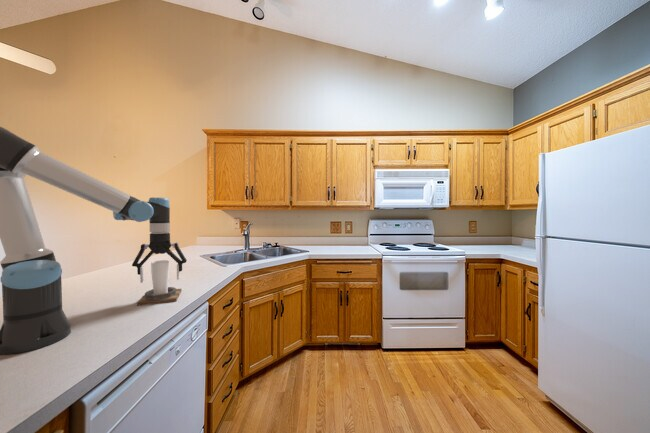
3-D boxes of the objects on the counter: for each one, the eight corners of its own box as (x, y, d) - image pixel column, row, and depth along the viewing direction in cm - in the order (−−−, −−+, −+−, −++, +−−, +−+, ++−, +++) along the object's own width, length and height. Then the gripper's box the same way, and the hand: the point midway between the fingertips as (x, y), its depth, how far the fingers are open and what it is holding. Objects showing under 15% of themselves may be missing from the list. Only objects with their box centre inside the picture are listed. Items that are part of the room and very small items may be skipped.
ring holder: (176, 301, 108) (176, 294, 108) (137, 305, 103) (137, 298, 103) (181, 291, 121) (181, 284, 121) (146, 294, 116) (146, 288, 116)
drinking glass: (153, 293, 114) (152, 260, 113) (170, 291, 117) (170, 259, 116) (150, 298, 108) (149, 264, 107) (168, 296, 111) (168, 262, 110)
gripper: (192, 231, 119) (193, 275, 120) (128, 232, 110) (129, 280, 111) (190, 232, 112) (191, 279, 113) (122, 234, 103) (123, 285, 104)
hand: (160, 280), depth 112 cm, fingers open, 13 cm apart
